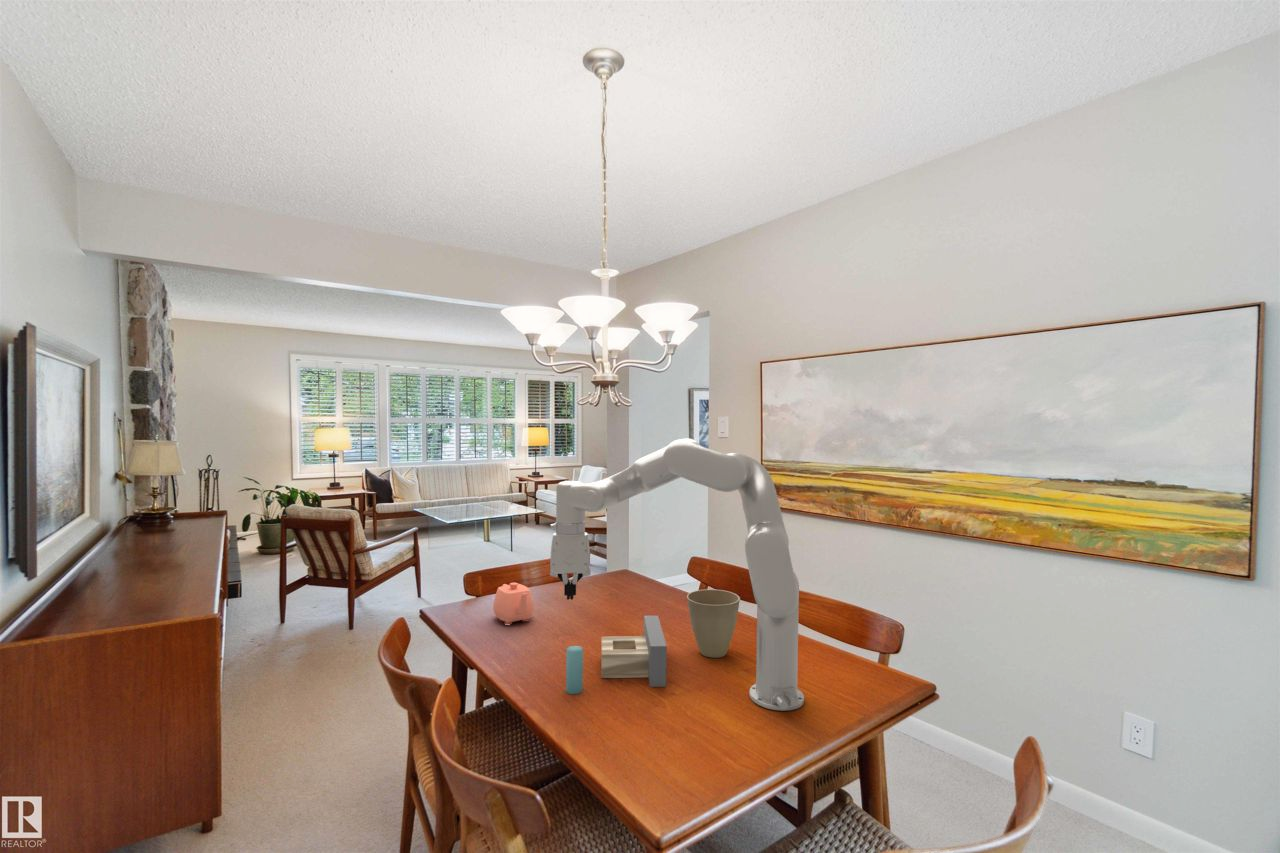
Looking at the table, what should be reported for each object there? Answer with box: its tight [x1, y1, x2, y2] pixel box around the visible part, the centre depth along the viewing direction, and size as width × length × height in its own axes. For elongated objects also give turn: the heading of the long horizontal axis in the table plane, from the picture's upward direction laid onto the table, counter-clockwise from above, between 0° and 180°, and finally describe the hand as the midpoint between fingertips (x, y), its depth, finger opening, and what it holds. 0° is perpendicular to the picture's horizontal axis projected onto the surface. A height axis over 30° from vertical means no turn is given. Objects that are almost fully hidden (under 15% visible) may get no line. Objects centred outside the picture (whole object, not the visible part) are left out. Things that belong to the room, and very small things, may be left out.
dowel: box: [565, 645, 584, 695], centre depth 136 cm, size 4×4×10 cm
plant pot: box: [686, 588, 741, 659], centre depth 159 cm, size 15×15×16 cm
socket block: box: [600, 635, 649, 679], centre depth 149 cm, size 12×12×6 cm
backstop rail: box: [643, 615, 668, 688], centre depth 149 cm, size 22×4×10 cm, turn 4°
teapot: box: [493, 582, 535, 625], centre depth 183 cm, size 20×12×12 cm, turn 35°
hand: (570, 597), depth 147 cm, fingers closed
